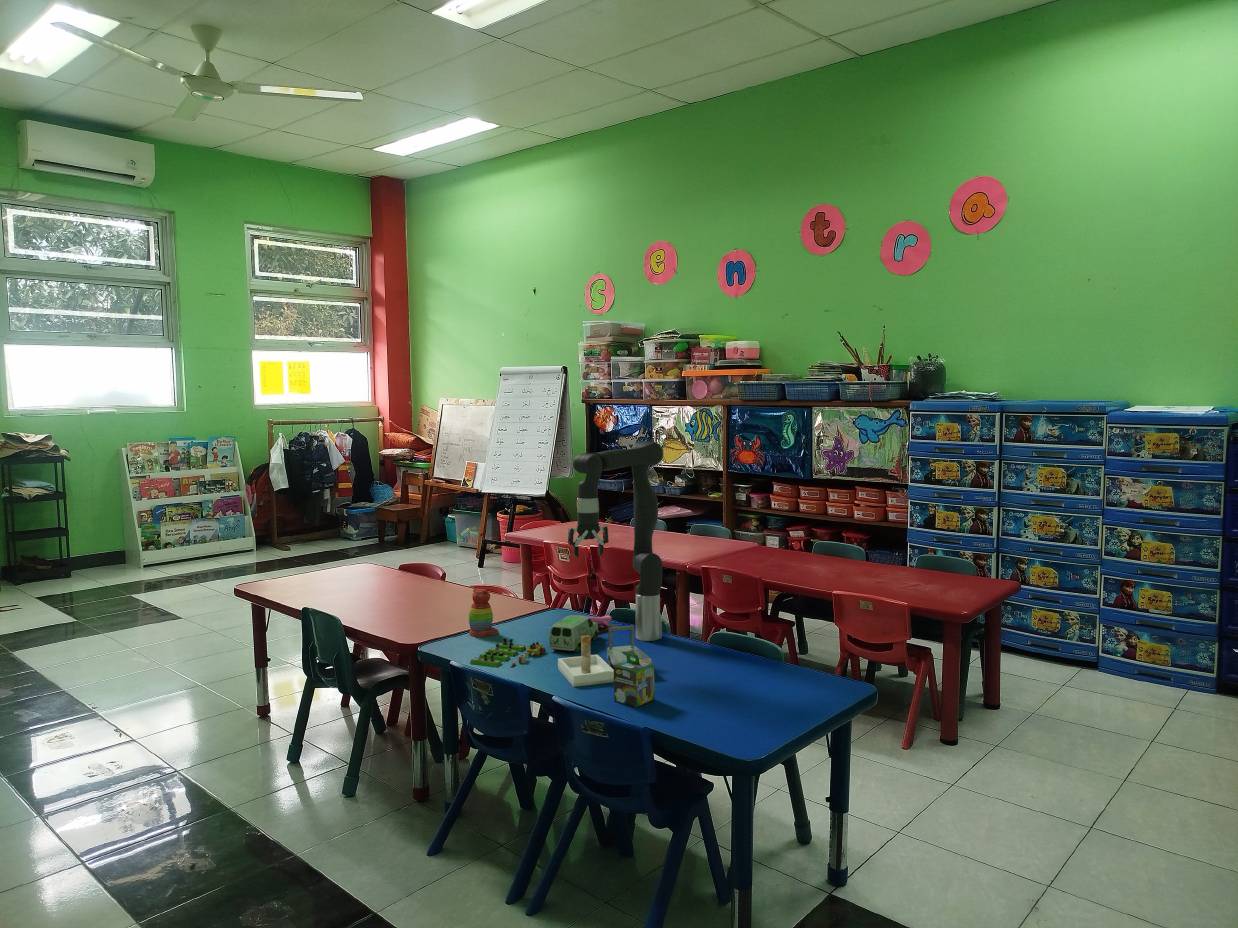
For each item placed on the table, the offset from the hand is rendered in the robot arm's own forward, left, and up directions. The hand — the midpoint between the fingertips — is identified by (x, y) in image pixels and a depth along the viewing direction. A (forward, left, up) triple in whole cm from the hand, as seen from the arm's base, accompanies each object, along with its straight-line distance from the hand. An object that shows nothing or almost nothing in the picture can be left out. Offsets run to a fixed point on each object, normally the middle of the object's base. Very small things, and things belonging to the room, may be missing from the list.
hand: (588, 556), depth 293 cm
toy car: (+1, -16, -36) cm, 40 cm away
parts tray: (+7, +20, -36) cm, 42 cm away
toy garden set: (+27, -8, -37) cm, 46 cm away
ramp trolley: (-8, +20, -36) cm, 42 cm away
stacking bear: (+31, -41, -36) cm, 63 cm away
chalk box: (0, +47, -36) cm, 59 cm away
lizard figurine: (-13, -33, -37) cm, 51 cm away
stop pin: (+7, +20, -35) cm, 41 cm away
